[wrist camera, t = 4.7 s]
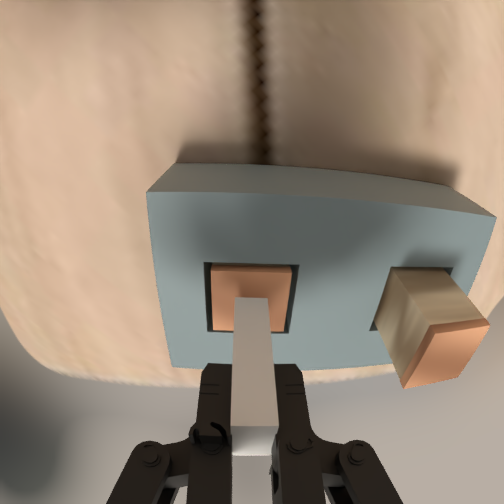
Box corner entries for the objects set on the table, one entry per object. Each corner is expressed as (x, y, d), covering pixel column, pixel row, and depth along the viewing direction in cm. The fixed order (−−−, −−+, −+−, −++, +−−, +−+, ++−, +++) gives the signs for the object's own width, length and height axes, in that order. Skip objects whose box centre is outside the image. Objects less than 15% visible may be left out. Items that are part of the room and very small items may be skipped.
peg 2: (388, 263, 16) (435, 333, 11) (439, 264, 17) (490, 325, 11) (371, 316, 18) (403, 388, 13) (420, 313, 19) (457, 377, 13)
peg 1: (219, 222, 20) (210, 270, 15) (280, 224, 20) (291, 273, 15) (220, 272, 22) (213, 329, 17) (275, 274, 22) (283, 331, 17)
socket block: (174, 163, 18) (146, 192, 13) (448, 186, 19) (496, 217, 14) (184, 311, 24) (172, 366, 19) (408, 310, 25) (435, 357, 20)
